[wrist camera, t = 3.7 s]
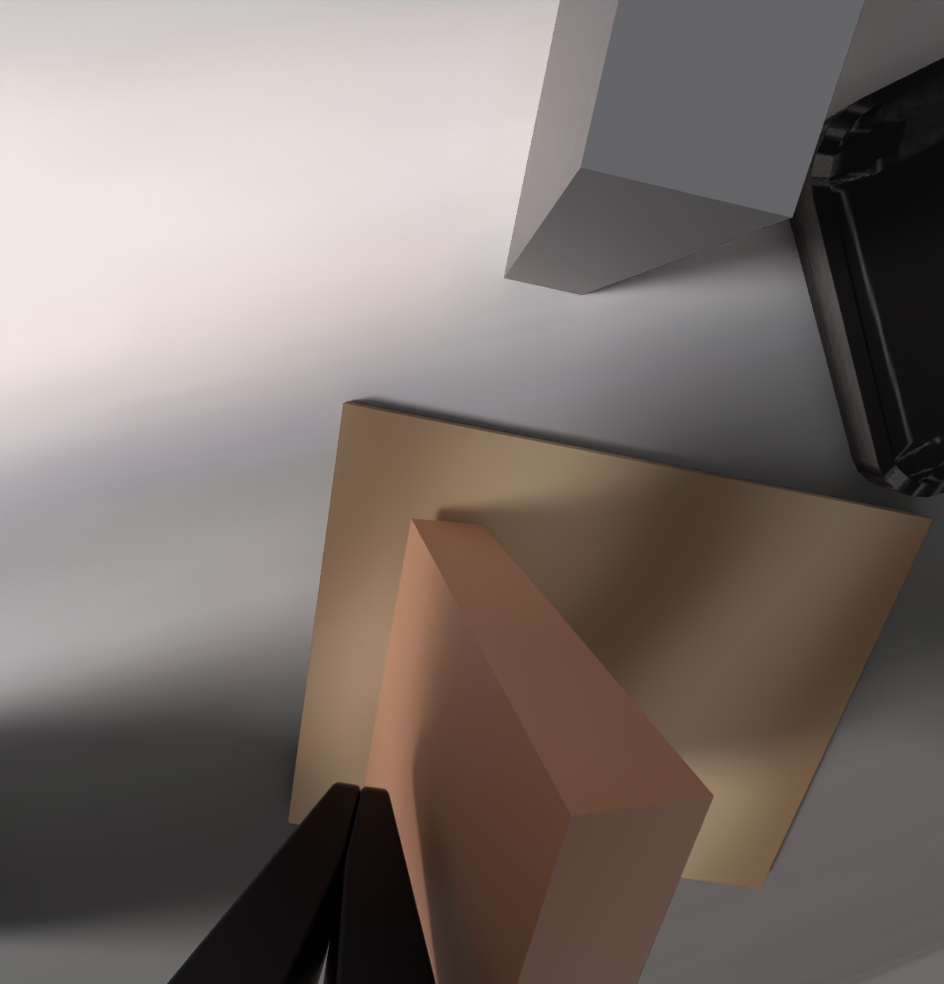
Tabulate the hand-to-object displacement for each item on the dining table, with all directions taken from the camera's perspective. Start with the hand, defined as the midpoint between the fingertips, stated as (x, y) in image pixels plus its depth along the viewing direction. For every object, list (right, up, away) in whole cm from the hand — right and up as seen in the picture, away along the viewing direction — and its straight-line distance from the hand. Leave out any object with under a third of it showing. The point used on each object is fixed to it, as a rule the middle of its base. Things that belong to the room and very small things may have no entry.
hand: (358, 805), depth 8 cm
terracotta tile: (+1, +1, +4) cm, 4 cm away
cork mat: (+4, 0, +5) cm, 7 cm away
